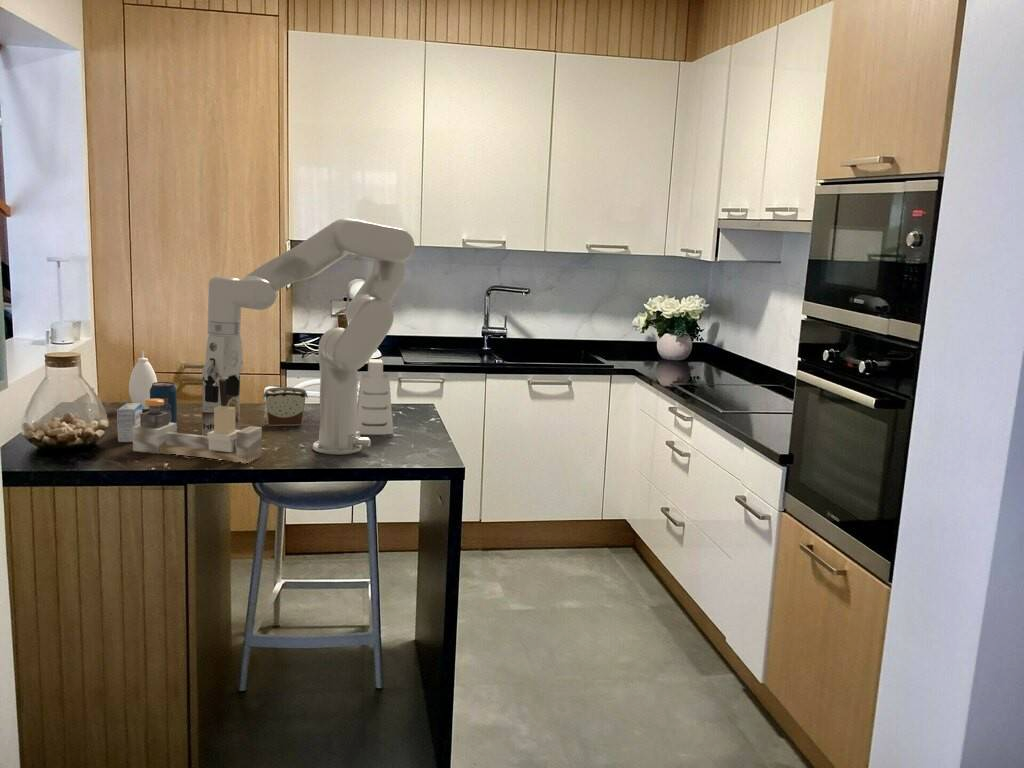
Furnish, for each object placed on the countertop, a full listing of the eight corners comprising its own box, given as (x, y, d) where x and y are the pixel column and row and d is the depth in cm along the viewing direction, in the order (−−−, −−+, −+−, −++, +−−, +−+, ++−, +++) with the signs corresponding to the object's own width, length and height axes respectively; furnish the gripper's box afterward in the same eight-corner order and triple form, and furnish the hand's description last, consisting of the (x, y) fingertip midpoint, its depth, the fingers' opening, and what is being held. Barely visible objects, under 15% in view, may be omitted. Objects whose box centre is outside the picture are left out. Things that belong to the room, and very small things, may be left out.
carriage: (242, 447, 226) (242, 406, 225) (229, 452, 221) (229, 411, 219) (219, 444, 228) (219, 404, 226) (207, 450, 222) (207, 408, 220)
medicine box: (135, 442, 233) (135, 409, 231) (117, 442, 232) (116, 409, 230) (143, 435, 240) (142, 403, 239) (125, 435, 239) (124, 402, 238)
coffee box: (223, 441, 239) (223, 380, 236) (201, 438, 240) (201, 378, 237) (240, 433, 248) (241, 375, 245) (219, 431, 249) (219, 373, 246)
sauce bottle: (162, 410, 269) (162, 350, 266) (136, 413, 263) (135, 352, 260) (150, 405, 274) (149, 346, 271) (124, 408, 269) (123, 348, 265)
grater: (355, 434, 254) (357, 363, 251) (354, 425, 264) (356, 357, 261) (393, 434, 257) (395, 364, 253) (390, 425, 267) (392, 358, 263)
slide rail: (262, 456, 227) (262, 420, 225) (246, 464, 219) (247, 427, 217) (152, 443, 233) (151, 408, 231) (132, 450, 225) (132, 415, 223)
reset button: (167, 414, 228) (167, 399, 228) (157, 417, 224) (157, 402, 223) (152, 412, 229) (151, 397, 228) (141, 416, 225) (141, 401, 224)
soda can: (164, 422, 255) (163, 380, 253) (182, 426, 252) (182, 383, 250) (144, 427, 249) (143, 383, 247) (163, 430, 246) (163, 387, 244)
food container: (305, 420, 267) (305, 386, 266) (307, 425, 262) (307, 390, 260) (261, 420, 264) (261, 386, 262) (262, 425, 258) (263, 391, 256)
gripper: (219, 333, 210) (217, 406, 212) (255, 327, 226) (253, 394, 229) (190, 330, 211) (188, 402, 214) (228, 324, 228) (226, 391, 231)
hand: (222, 398), depth 221 cm, fingers open, 9 cm apart
